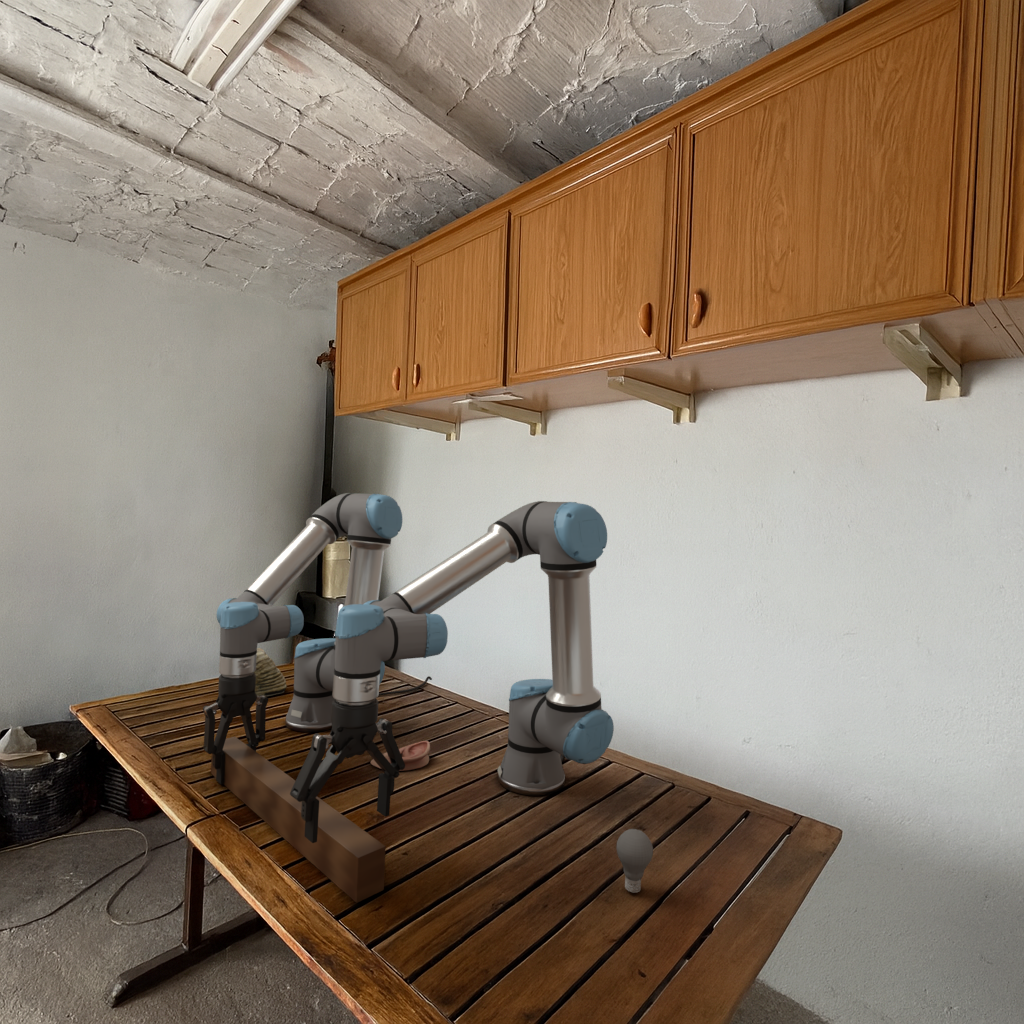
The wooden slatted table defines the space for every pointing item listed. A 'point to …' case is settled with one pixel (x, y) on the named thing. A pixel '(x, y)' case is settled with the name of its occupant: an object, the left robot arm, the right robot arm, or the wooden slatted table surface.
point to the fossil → (268, 676)
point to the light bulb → (634, 857)
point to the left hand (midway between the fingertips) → (233, 778)
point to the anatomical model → (412, 755)
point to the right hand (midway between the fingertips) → (348, 825)
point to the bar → (339, 841)
